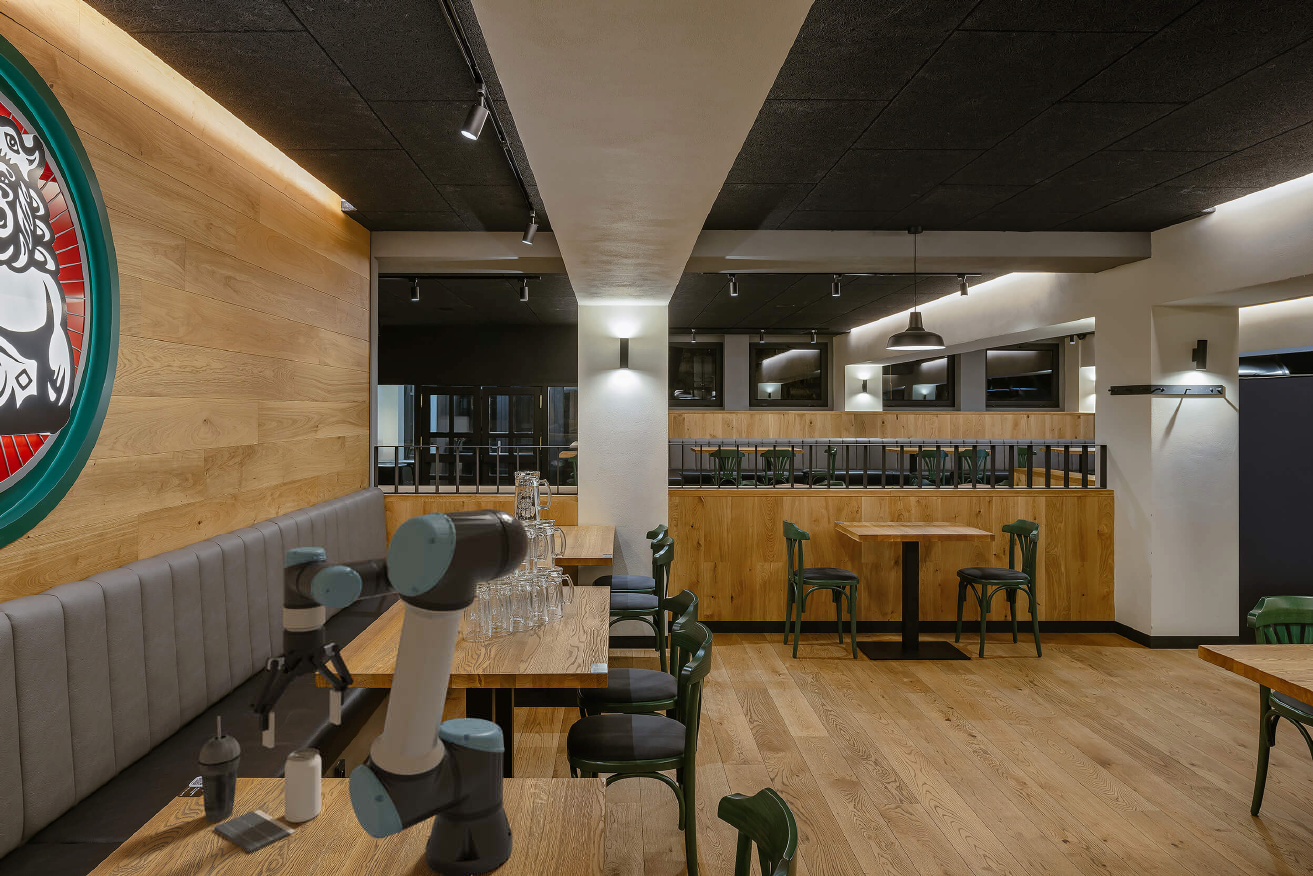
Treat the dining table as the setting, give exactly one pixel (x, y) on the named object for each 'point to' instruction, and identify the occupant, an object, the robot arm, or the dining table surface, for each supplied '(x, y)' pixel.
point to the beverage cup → (219, 775)
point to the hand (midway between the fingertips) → (303, 734)
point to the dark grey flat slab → (254, 830)
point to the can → (302, 785)
